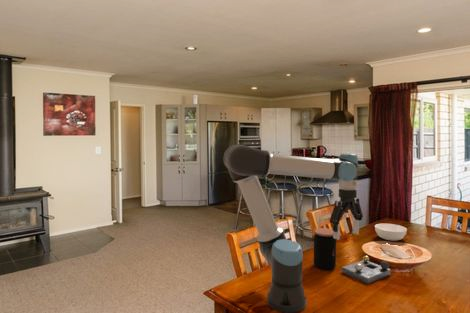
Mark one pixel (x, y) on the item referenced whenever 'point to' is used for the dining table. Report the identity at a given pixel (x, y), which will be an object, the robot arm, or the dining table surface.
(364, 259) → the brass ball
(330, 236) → the coffee jar
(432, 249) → the dining table surface
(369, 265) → the grey base plate
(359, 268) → the steel ball
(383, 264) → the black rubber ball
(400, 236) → the bowl
